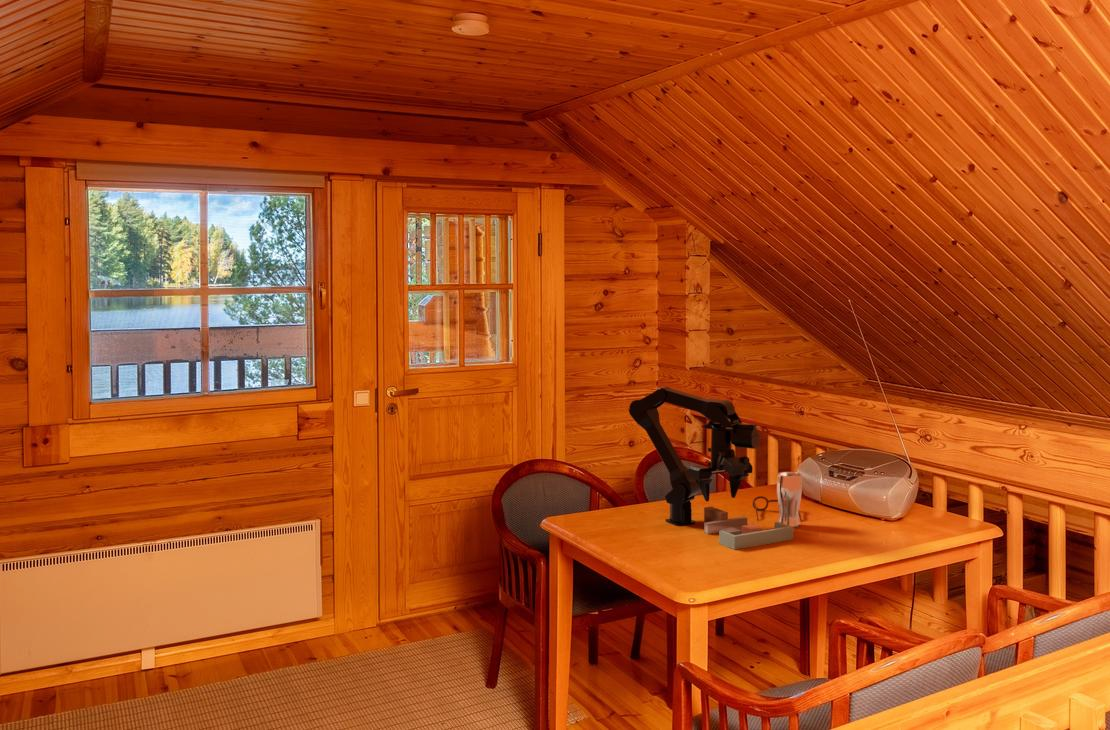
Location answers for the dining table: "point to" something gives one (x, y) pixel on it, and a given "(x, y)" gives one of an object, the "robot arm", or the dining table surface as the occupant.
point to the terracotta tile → (750, 528)
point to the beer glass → (789, 497)
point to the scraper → (720, 520)
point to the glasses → (766, 505)
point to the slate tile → (732, 531)
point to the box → (757, 537)
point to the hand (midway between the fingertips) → (720, 499)
